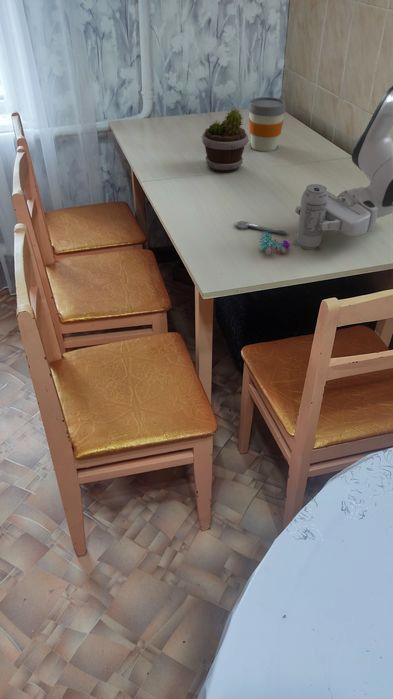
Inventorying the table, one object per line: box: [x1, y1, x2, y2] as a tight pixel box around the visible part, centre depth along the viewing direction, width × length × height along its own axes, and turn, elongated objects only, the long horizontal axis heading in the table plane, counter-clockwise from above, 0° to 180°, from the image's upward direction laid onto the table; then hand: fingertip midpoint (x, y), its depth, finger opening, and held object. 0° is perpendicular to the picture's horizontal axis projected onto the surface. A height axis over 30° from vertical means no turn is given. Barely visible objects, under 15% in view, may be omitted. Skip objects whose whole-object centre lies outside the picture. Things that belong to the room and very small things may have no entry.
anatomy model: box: [258, 231, 291, 256], centre depth 134 cm, size 5×8×7 cm
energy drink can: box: [295, 183, 328, 250], centre depth 134 cm, size 6×6×15 cm
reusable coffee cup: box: [248, 96, 286, 152], centre depth 189 cm, size 13×13×15 cm
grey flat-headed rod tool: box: [235, 220, 287, 236], centre depth 144 cm, size 14×4×1 cm, turn 66°
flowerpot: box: [201, 104, 250, 173], centre depth 172 cm, size 14×15×20 cm
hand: (308, 218), depth 133 cm, fingers open, 8 cm apart
